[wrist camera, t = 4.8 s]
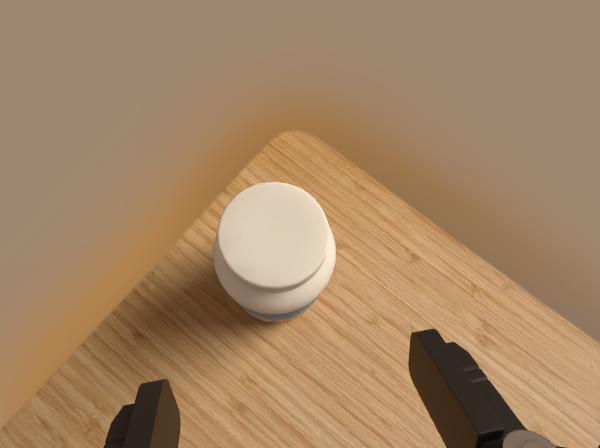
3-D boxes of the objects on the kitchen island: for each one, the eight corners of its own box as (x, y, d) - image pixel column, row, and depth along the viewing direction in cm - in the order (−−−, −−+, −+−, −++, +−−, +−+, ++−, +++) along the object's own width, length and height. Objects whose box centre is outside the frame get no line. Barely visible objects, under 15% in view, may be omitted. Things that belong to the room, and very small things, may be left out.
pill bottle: (337, 277, 26) (378, 232, 15) (275, 342, 24) (273, 343, 14) (277, 219, 27) (275, 139, 16) (214, 278, 25) (167, 232, 15)
